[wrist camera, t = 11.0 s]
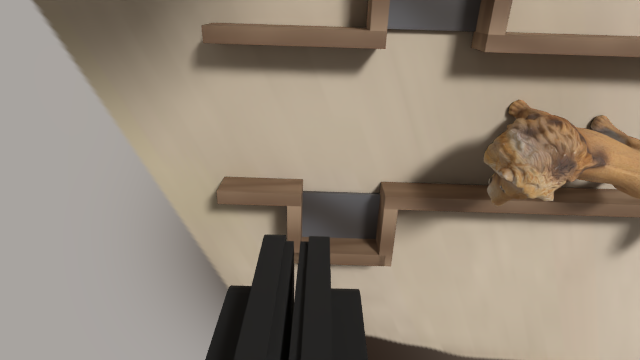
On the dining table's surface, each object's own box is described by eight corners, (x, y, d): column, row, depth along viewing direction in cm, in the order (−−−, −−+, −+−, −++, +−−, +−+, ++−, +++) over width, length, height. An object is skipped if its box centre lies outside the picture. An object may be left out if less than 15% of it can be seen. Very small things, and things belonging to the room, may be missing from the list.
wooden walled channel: (205, -68, 24) (176, -83, 19) (791, -49, 24) (902, -60, 19) (229, 242, 33) (214, 281, 28) (651, 256, 33) (703, 297, 28)
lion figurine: (446, 163, 30) (493, 225, 21) (462, 92, 27) (521, 131, 19) (639, 177, 30) (757, 244, 22) (670, 108, 28) (814, 154, 20)
